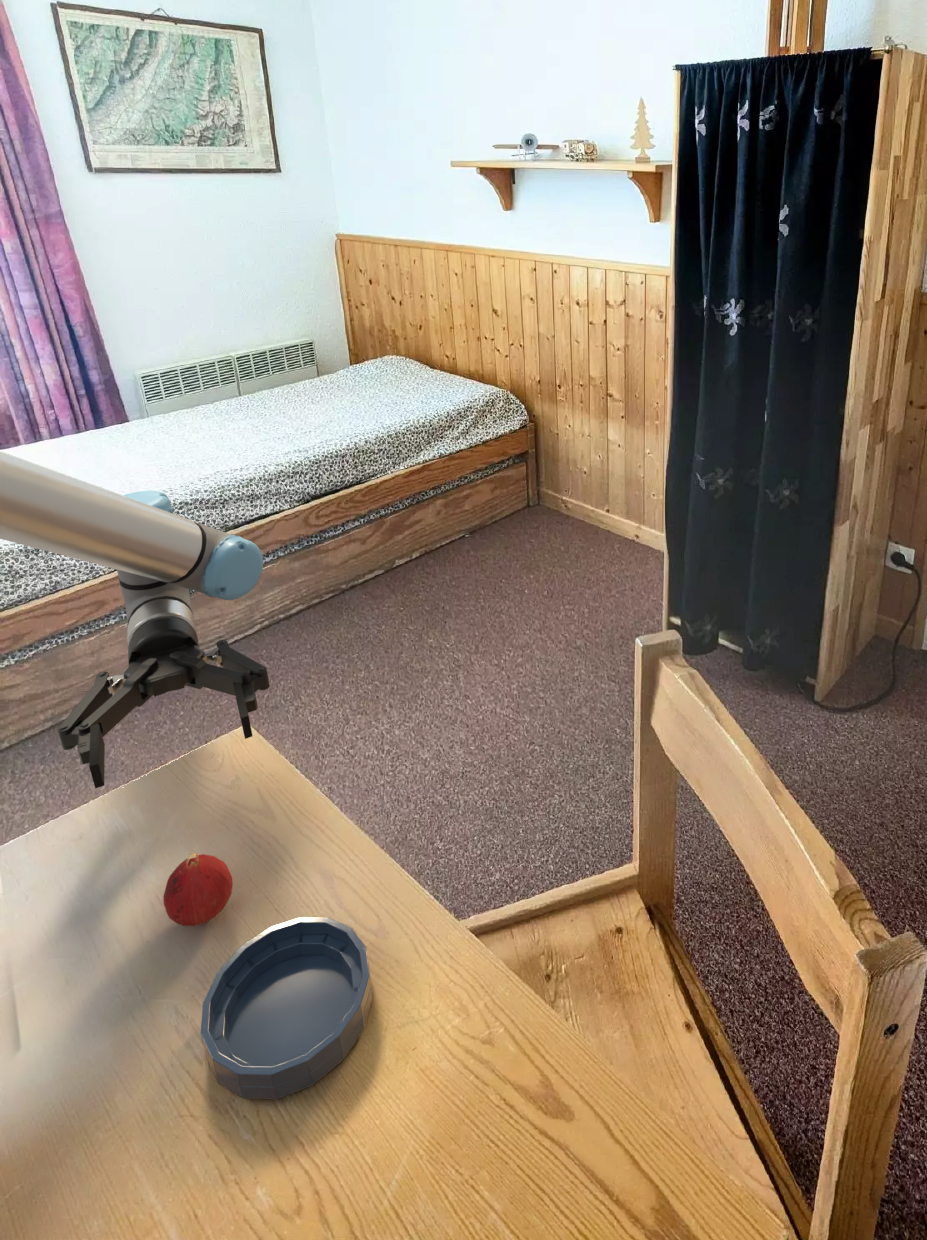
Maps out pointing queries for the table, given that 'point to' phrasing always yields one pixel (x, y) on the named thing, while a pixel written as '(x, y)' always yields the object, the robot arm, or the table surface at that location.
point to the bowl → (286, 1007)
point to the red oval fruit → (197, 890)
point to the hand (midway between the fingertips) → (174, 751)
